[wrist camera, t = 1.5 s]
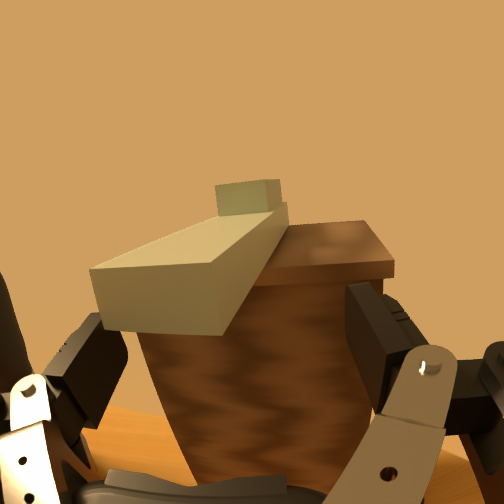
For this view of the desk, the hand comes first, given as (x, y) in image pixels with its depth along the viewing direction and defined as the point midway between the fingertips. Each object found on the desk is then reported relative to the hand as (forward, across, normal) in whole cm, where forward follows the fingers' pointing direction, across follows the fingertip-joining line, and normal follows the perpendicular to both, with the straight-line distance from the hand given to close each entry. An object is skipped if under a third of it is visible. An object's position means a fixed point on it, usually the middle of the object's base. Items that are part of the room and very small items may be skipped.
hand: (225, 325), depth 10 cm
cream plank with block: (+8, 0, +1) cm, 8 cm away
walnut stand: (+9, 0, +33) cm, 35 cm away
